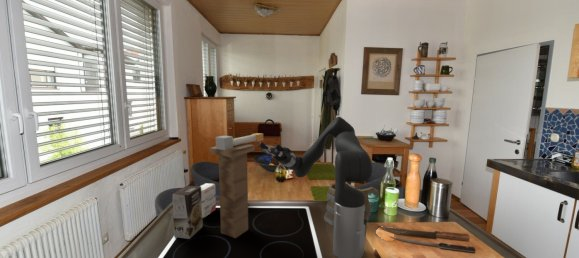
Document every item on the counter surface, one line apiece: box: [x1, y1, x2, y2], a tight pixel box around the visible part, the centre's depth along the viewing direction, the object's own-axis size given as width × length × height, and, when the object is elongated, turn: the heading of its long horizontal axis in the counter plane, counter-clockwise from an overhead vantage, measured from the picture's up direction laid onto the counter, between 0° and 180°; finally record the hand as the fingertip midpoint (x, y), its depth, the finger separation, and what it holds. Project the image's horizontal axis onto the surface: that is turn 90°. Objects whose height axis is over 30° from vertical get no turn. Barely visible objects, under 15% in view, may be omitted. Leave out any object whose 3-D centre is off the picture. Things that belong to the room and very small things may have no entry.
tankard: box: [323, 182, 379, 227], centre depth 105 cm, size 20×13×15 cm, turn 73°
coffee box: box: [171, 185, 204, 240], centre depth 97 cm, size 9×6×16 cm
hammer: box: [215, 132, 264, 150], centre depth 98 cm, size 22×4×4 cm, turn 149°
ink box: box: [199, 182, 217, 219], centre depth 112 cm, size 8×5×12 cm, turn 160°
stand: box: [209, 143, 256, 239], centre depth 96 cm, size 10×12×32 cm
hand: (268, 145), depth 112 cm, fingers open, 8 cm apart
